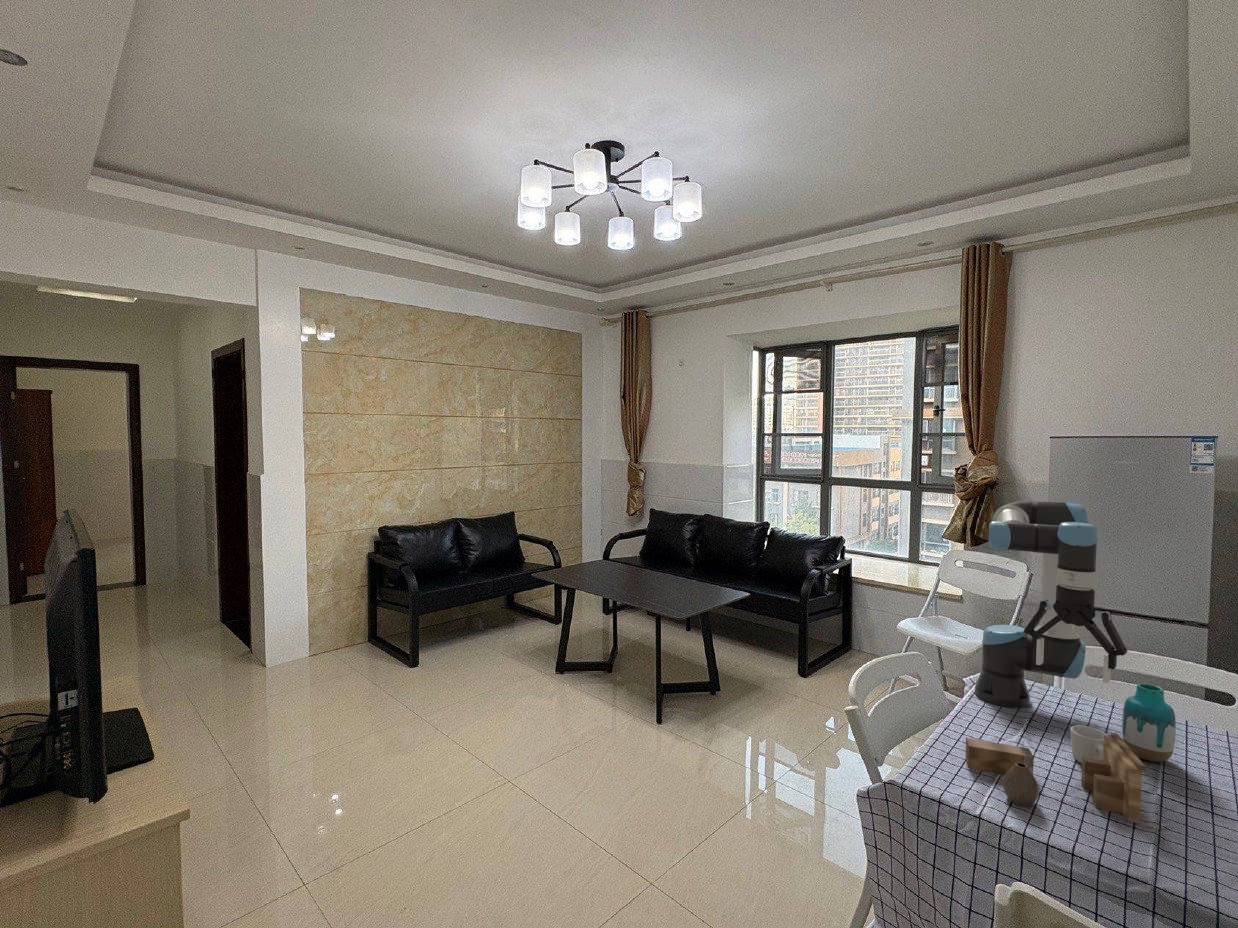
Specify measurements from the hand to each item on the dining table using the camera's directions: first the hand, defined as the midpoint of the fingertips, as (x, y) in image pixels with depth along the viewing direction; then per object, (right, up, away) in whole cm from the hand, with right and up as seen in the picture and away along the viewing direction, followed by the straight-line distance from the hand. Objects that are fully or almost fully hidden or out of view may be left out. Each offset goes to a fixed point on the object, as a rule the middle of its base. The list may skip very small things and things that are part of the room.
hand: (1071, 672), depth 147 cm
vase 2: (+29, -27, +13) cm, 42 cm away
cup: (+12, -27, +9) cm, 31 cm away
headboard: (+4, -28, -6) cm, 29 cm away
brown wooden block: (-14, -27, +6) cm, 31 cm away
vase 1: (-17, -28, -7) cm, 34 cm away
